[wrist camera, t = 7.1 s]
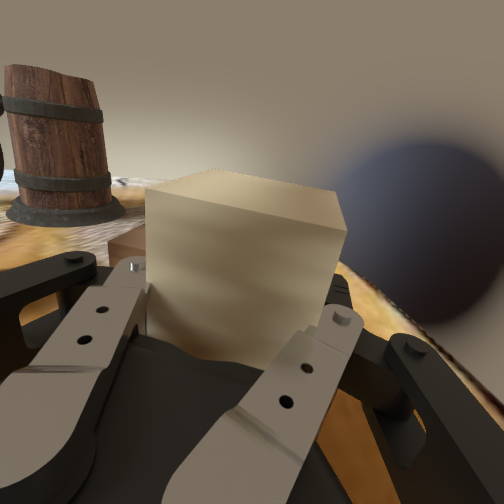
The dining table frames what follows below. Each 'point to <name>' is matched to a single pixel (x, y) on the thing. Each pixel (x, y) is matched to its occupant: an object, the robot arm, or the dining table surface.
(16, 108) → the tankard
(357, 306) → the dining table surface
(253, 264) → the maple block
